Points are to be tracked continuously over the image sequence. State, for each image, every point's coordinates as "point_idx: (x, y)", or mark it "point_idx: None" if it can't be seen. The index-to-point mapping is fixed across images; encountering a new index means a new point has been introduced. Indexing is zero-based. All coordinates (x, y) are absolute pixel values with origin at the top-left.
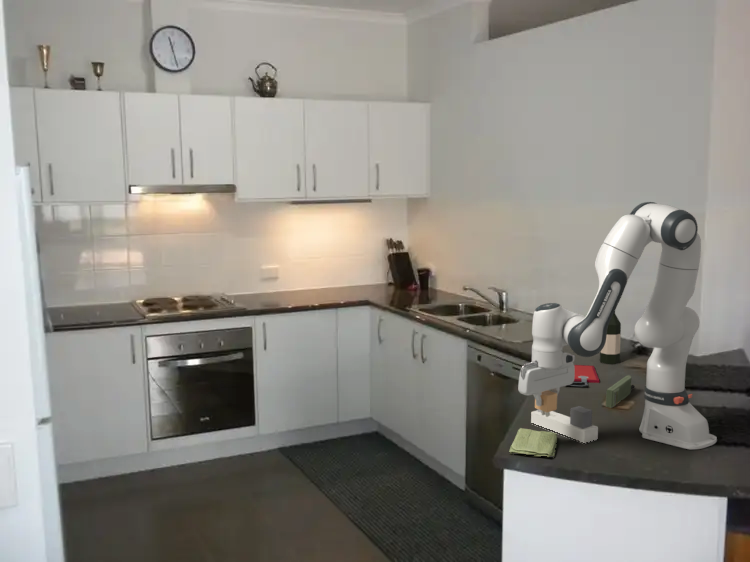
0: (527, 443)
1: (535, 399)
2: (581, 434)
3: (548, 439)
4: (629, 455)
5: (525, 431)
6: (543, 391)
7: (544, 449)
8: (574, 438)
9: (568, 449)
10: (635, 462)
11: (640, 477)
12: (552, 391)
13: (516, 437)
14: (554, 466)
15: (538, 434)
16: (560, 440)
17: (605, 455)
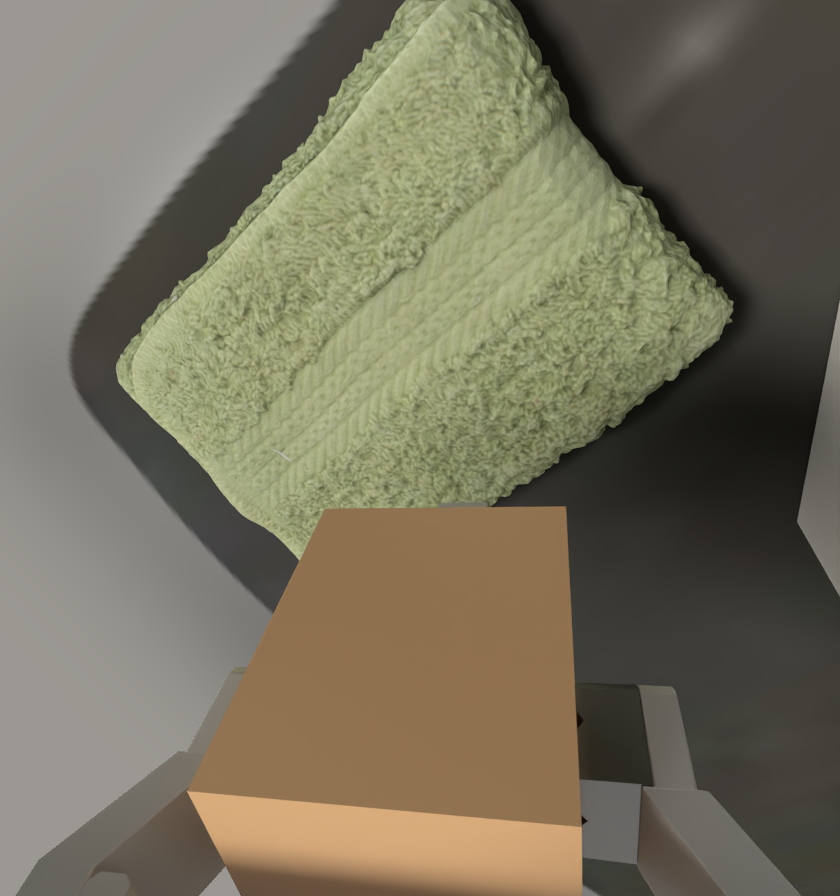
0: (260, 417)
1: (271, 636)
2: (832, 541)
3: (496, 435)
4: (831, 774)
5: (426, 151)
6: (405, 879)
7: None
8: (821, 433)
9: (590, 524)
10: (750, 824)
11: (592, 888)
12: (713, 890)
13: (249, 235)
14: None
15: (490, 307)
16: (707, 358)
17: (708, 704)
